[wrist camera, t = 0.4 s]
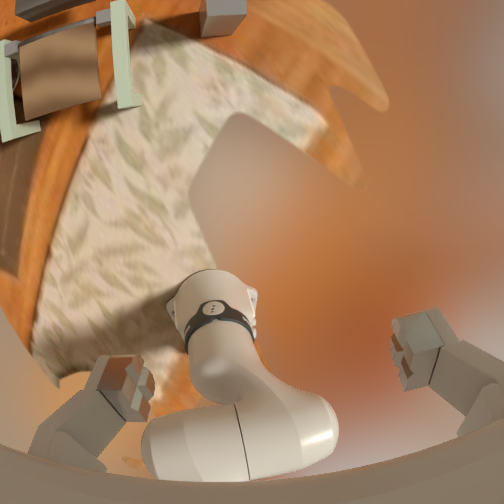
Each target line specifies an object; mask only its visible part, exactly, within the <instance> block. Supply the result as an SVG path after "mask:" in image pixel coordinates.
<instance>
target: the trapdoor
mask: <svg viewBox="0 0 504 504" xmlns="http://www.w3.org/2000/svg"><path fill="white" fill-rule="evenodd" d="M93 1H96V0H16V5H15V15H16V16H18V17H21V18H23V19H25V20H28V21H30V22H33V21H36V20H38V19H41V18H44V17H46V16H49V15H52V14H55V13H57V12H60V11H63V10H66V9H69V8H73V7H76V6H79V5H82V4H86V3H89V2H93ZM18 46H19V52H20V73H21V87H22V97H23V107H24V115H25V121H27V120H30V119H33V118H36V117H39V116H42V115H45V114H49V113H52V112H55V111H58V110H62V109H65V108H69V107H72V106H76V105H79V104H83V103H87V102H91V101H95V100H99V99H101V90H100V80H99V69H98V56H97V39H96V17H92V18H88V19H84V20H81V21H78V22H74V23H71V24H68V25H65V26H62V27H59V28H56V29H53V30H50V31H47V32H45V33H42V34H39V35H37V36H34V37H32V38H29V39H27V40H24V41H22V42H20V43H19V45H18Z"/></svg>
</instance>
